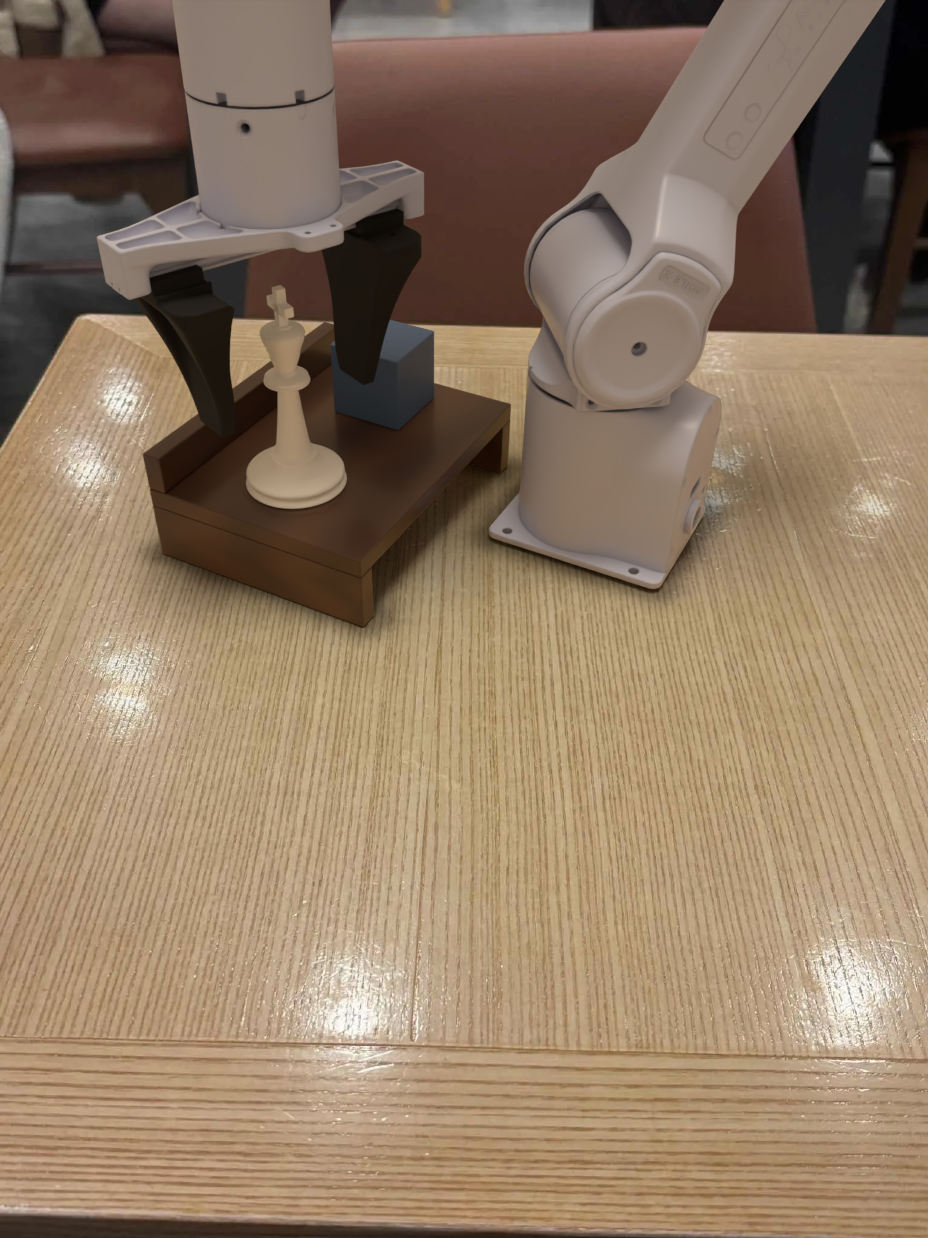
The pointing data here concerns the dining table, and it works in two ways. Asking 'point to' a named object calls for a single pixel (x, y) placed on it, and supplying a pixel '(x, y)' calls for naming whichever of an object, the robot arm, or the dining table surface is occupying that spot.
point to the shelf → (330, 532)
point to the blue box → (390, 379)
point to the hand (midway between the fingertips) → (290, 399)
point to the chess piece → (291, 426)
